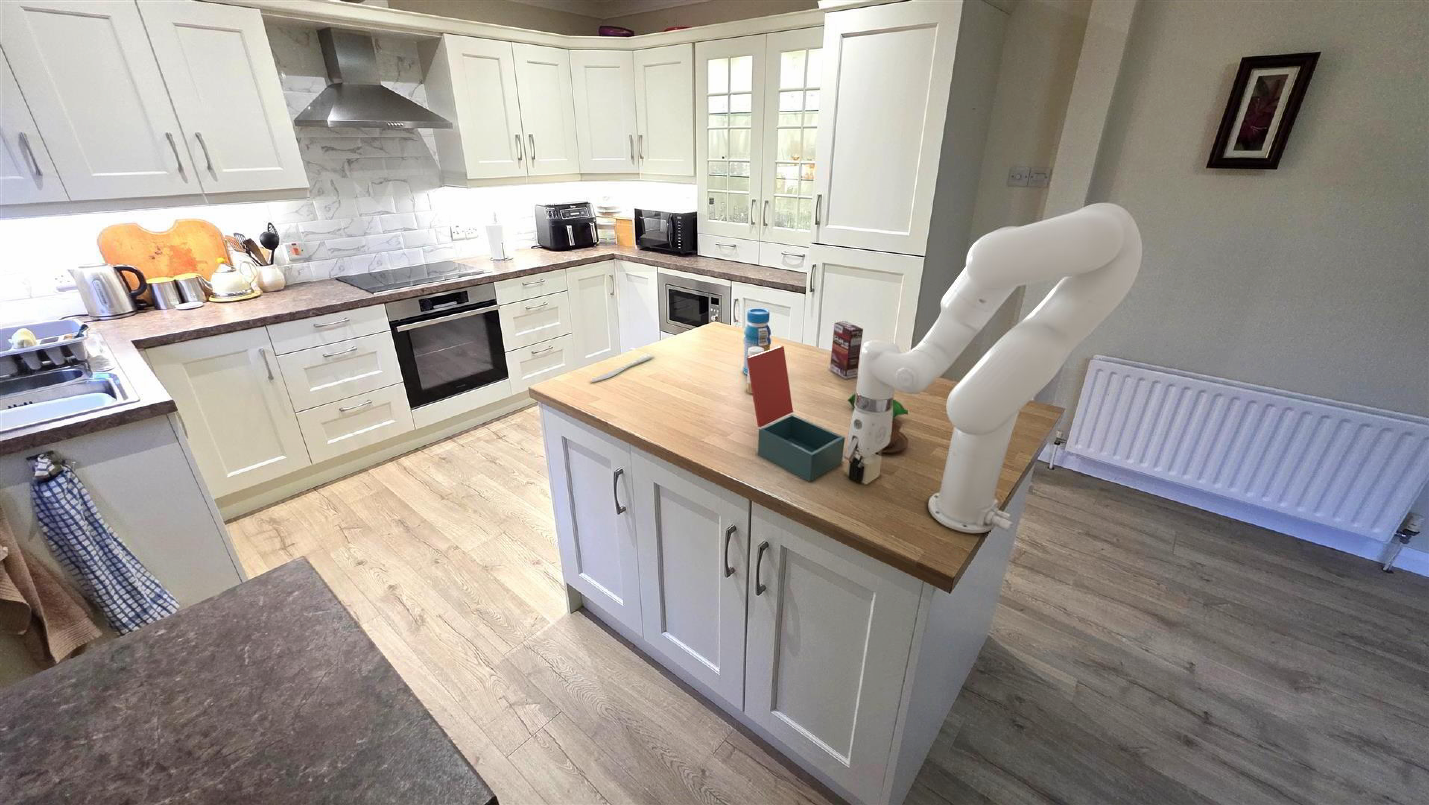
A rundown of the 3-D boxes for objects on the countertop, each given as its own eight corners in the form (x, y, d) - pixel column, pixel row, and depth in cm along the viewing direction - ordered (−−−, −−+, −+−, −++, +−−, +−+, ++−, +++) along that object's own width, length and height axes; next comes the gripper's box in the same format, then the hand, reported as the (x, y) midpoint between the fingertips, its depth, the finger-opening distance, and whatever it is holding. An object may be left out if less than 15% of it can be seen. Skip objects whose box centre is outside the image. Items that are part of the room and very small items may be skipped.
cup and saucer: (868, 427, 141) (871, 406, 138) (914, 442, 134) (918, 420, 132) (847, 445, 133) (850, 423, 130) (894, 462, 126) (898, 439, 123)
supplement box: (828, 369, 176) (833, 322, 169) (841, 367, 178) (846, 320, 171) (845, 379, 169) (851, 330, 162) (857, 377, 171) (864, 328, 164)
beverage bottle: (739, 375, 172) (741, 313, 163) (746, 366, 179) (748, 306, 170) (766, 378, 170) (769, 316, 161) (771, 369, 177) (775, 308, 168)
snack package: (890, 429, 140) (893, 411, 138) (844, 407, 152) (846, 389, 150) (907, 422, 144) (911, 404, 142) (861, 400, 156) (864, 384, 153)
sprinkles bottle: (764, 390, 162) (766, 347, 156) (759, 396, 158) (761, 352, 152) (749, 387, 164) (751, 344, 158) (744, 393, 160) (745, 349, 154)
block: (879, 476, 121) (882, 456, 119) (865, 484, 118) (868, 465, 116) (859, 467, 124) (862, 448, 122) (846, 475, 121) (849, 455, 119)
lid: (783, 345, 129) (781, 345, 129) (749, 357, 122) (746, 357, 122) (793, 412, 133) (790, 411, 133) (760, 427, 126) (757, 427, 126)
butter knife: (656, 356, 185) (649, 354, 186) (595, 383, 165) (588, 380, 167) (656, 358, 185) (649, 355, 186) (595, 384, 166) (588, 381, 167)
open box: (841, 463, 126) (845, 437, 123) (809, 482, 119) (812, 455, 116) (790, 438, 136) (791, 413, 133) (757, 454, 129) (758, 428, 126)
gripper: (865, 419, 105) (854, 497, 113) (911, 394, 116) (898, 467, 124) (833, 406, 110) (825, 482, 118) (880, 383, 121) (870, 454, 129)
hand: (863, 474), depth 121 cm, fingers closed on block, 5 cm apart
